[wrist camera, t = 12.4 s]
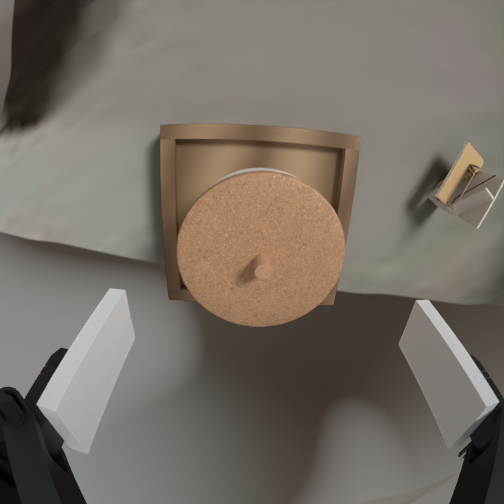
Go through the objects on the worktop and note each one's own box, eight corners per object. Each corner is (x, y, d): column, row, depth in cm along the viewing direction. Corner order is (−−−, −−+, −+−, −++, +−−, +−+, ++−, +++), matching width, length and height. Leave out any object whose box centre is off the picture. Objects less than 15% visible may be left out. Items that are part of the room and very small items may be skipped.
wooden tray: (349, 134, 24) (360, 136, 22) (326, 289, 31) (333, 304, 28) (169, 124, 24) (160, 125, 21) (174, 284, 30) (168, 299, 28)
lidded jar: (170, 207, 25) (133, 254, 16) (273, 131, 22) (290, 136, 14) (244, 294, 28) (243, 365, 20) (340, 233, 26) (380, 287, 17)
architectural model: (417, 188, 27) (458, 210, 20) (447, 137, 24) (493, 147, 17) (435, 205, 27) (476, 230, 21) (464, 156, 25) (509, 171, 18)
